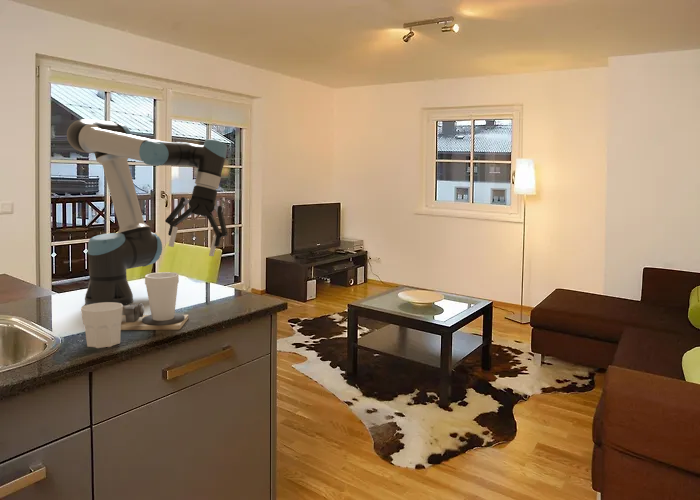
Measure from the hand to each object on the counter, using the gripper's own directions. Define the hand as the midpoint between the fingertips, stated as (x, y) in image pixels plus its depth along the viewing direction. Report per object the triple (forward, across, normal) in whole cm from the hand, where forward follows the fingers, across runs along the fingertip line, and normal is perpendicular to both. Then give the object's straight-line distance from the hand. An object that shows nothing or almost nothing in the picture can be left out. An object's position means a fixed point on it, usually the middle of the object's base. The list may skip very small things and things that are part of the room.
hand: (191, 251), depth 177 cm
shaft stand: (+24, +4, +13) cm, 27 cm away
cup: (+28, +7, +32) cm, 42 cm away
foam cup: (+21, -1, +13) cm, 24 cm away
